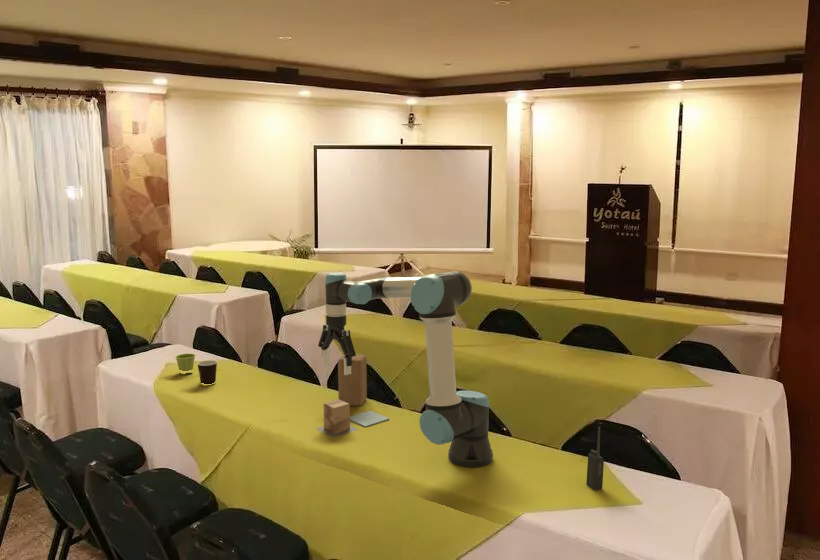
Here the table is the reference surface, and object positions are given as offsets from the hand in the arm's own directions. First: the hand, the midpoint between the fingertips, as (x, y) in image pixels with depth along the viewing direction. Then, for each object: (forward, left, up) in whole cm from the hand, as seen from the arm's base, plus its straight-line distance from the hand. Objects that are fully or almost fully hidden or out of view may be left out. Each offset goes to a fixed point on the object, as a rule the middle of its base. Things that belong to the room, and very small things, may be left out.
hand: (336, 370), depth 249 cm
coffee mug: (+86, +10, -23) cm, 90 cm away
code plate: (0, 0, -23) cm, 23 cm away
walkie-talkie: (-92, -31, -23) cm, 100 cm away
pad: (0, -15, -23) cm, 27 cm away
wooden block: (+20, -23, -23) cm, 38 cm away
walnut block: (0, 0, -23) cm, 23 cm away
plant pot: (+108, +12, -23) cm, 111 cm away
